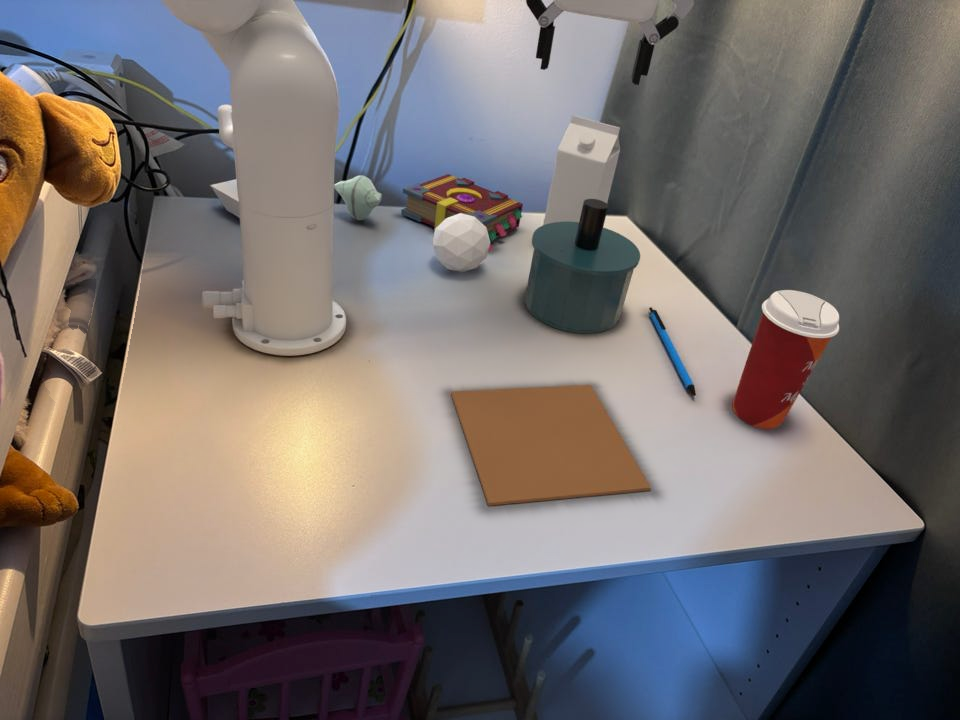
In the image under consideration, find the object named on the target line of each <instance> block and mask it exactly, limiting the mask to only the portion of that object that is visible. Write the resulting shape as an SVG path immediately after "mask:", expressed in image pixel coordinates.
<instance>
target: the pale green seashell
mask: <svg viewBox="0 0 960 720" xmlns="http://www.w3.org/2000/svg"><path fill="white" fill-rule="evenodd" d="M334 190H335V191H336V192H337V193H338V194H339V196H340V197H341V198H342V200H343V201H344V203H345V206H346V209H347V212H348V213H349V215H350V217H352V218H353V219H355V220H356V221H363V220H366V219H367V218H368V217H369V216H370V215H371V213H372V211H373V210H374V209H375V208H376V207H378V205H379V204H380V203H381V202H382V200H383V194H382V193H380V192H379V191H377V189H376V186H375V185H374V183H373V182H372V180H371V179H370V178H369V177H367V176H365V175H356V176H354V177H353V178H350V179H347V180H340V181H339V182H337V183H334Z"/></svg>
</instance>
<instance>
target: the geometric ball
mask: <svg viewBox="0 0 960 720" xmlns="http://www.w3.org/2000/svg"><path fill="white" fill-rule="evenodd" d="M431 244H432V248H433V251H434V255H435V259H436V260H437V261H438V262H439V263H441V264H442V265H443V266H444V267H445V268H446V269H447V270H449V271H454V272H458V273H464V272H468V271H470V270H473V269H476V268H478V267H479V266H480V265H481V264H482V263H483V262H484V261H485V260H486V259H487V257H488V254H489V252H490V251H489V247H490V244H491V242H490V239H489V235H488V232H487V228H486V227H485V226H484V225H483V224H482V223H481V222H480V221H479V220H478V219H477V218H476V217H474V216H470V215H466V214H462V213H459V214H457V215H454V216H451V217H449V218H446V219H445V220H444V221H443V222H442V223H441V224H440V225H439V226H438V227H437V228H436V229H435V230H434V232H433V238H432V243H431Z"/></svg>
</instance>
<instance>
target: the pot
mask: <svg viewBox="0 0 960 720" xmlns="http://www.w3.org/2000/svg"><path fill="white" fill-rule="evenodd" d="M530 263H531V264H530V269H529V274H528V280H527V284H526V289H525V290H526V291H525V294H524V295H525V296H524V305H525V308H526V309H527V310H528V312H529V313H530V314H531V315H532V316H533V317H534V318H535V319H537V320H538V321H540V322H541V323H543V324H545V325H547V326H549V327H551V328H555V329H557V330H561V331H564V332H568V333H573V334H574V333H575V334H598V333H602V332H606V331H608V330H610V329H612V328H613V327H615V326H616V325H617V324H618V322H619V320H620V318H621V316H622V312H623V309H624V305H625V301H626V298H627V293H628V291H629V287H630V284H631V280H632V277H633V273H634V270H635V268H634V269H633V270H631V271H629V272H627V273H624V274H619V275H610V276H600V275H590V274H583V273H579V272H575V271H571V270H568V269H565V268H562V267H560V266H557V265H555V264H553V263H551V262H549V261H548V260H546V259H544V258H543V257H542V256H540V255H539V254H538V253H537V252H536V250H535V249H534V248H533V253H532V258H531V262H530Z"/></svg>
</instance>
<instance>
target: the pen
mask: <svg viewBox="0 0 960 720" xmlns="http://www.w3.org/2000/svg"><path fill="white" fill-rule="evenodd" d="M648 309H649V316H650V318H651V320H652V321H653V324H654V326H655V328H656V330H657V332H658V334H659V336H660V337H661V340H662V343H663V344H664V346H665V349H666V350H667V352H668V354H669V356H670V358H671V360H672V362H673V364H674V367H675V368H676V370H677V372H678V374H679V376H680V378H681V380H682V382H683V385H684V386H685V388H686V390H687V391H688V392H689V393H690V394H691V395H692V396H693V397H694V398H697V393H696V388H695V385H694V383H693V380H692V378H691V377H690V375H689V373H688V370H687V369H686V367H685V365H684V363H683V361H682V360H681V359H682V358H681V357H680V355H679V353H678V351H677V350H676V348H675V346H674V344H673V341H672V340H671V338H670V336H669V334H668V332H667V330H666V329H667V328H666V326H665V324H664V322H663V321H662V319H661V317H660V314H659V313H658V311H657V310H656V309H654V308H653V307H652V306H650V307H649V308H648Z"/></svg>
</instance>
